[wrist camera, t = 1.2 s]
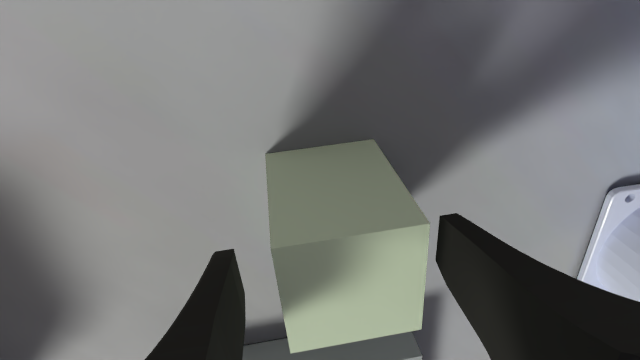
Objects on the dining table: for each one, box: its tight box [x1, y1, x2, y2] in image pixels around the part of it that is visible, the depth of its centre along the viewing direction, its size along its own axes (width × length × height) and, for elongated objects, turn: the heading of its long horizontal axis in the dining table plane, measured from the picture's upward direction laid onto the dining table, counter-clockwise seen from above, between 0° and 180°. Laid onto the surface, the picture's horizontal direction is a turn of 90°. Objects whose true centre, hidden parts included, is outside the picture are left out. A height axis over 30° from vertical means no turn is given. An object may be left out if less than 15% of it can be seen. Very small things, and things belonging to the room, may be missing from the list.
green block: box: [265, 139, 430, 353], centre depth 14 cm, size 4×4×6 cm
